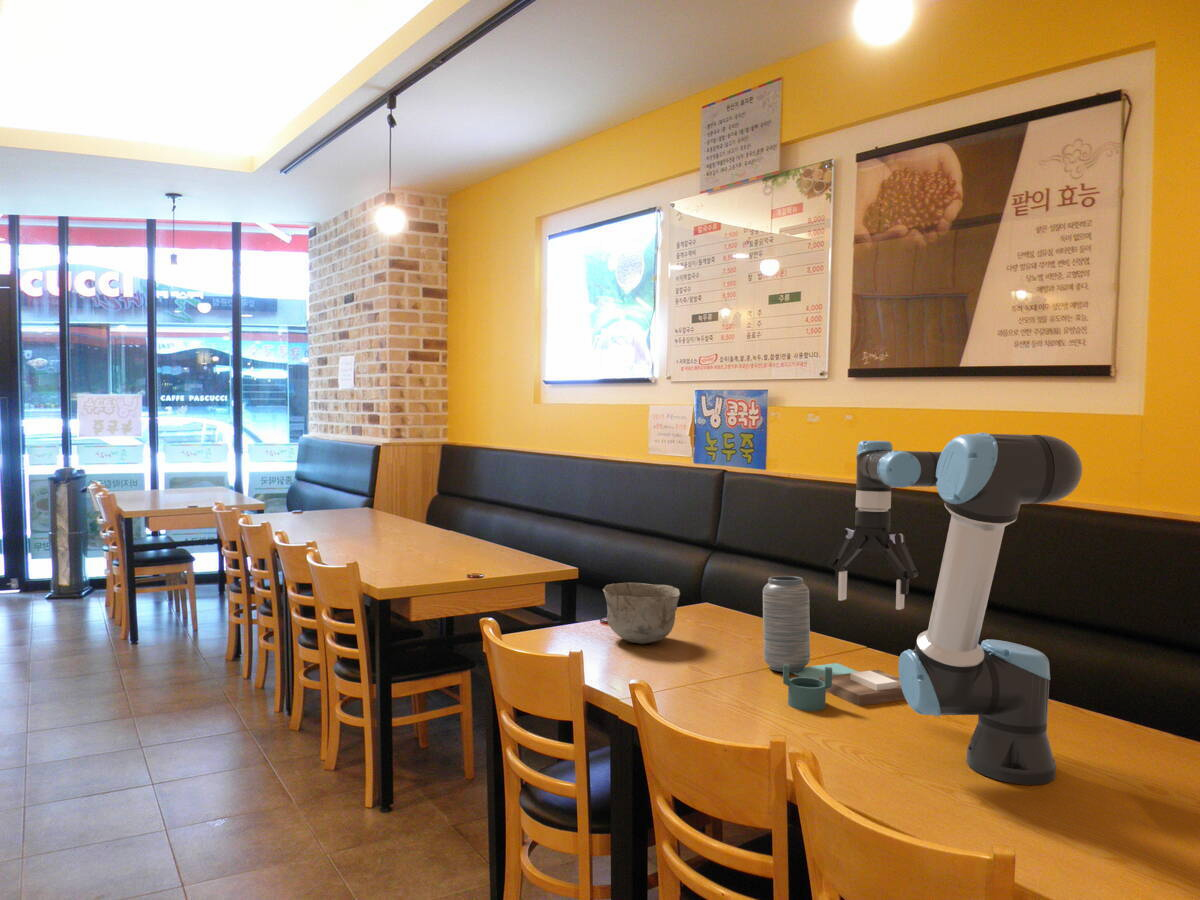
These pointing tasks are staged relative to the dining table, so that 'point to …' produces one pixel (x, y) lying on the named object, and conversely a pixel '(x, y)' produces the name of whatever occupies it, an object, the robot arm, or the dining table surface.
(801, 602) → the vase
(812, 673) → the mat
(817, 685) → the bracket
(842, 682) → the brown wooden flat board
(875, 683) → the white rectangular block
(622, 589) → the bowl
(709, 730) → the dining table surface
